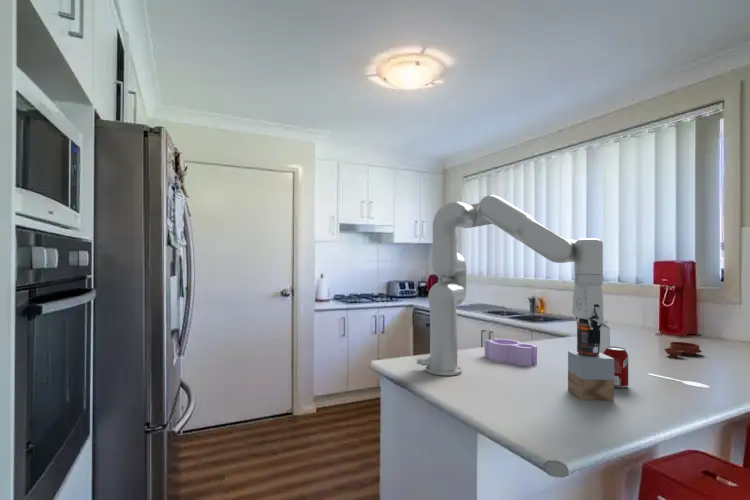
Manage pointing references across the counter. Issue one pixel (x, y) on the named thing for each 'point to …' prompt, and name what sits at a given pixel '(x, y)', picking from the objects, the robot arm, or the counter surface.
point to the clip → (511, 351)
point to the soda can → (619, 365)
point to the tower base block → (591, 388)
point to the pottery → (682, 349)
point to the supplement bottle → (585, 340)
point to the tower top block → (591, 366)
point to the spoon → (684, 381)
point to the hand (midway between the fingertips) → (588, 340)
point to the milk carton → (604, 336)
